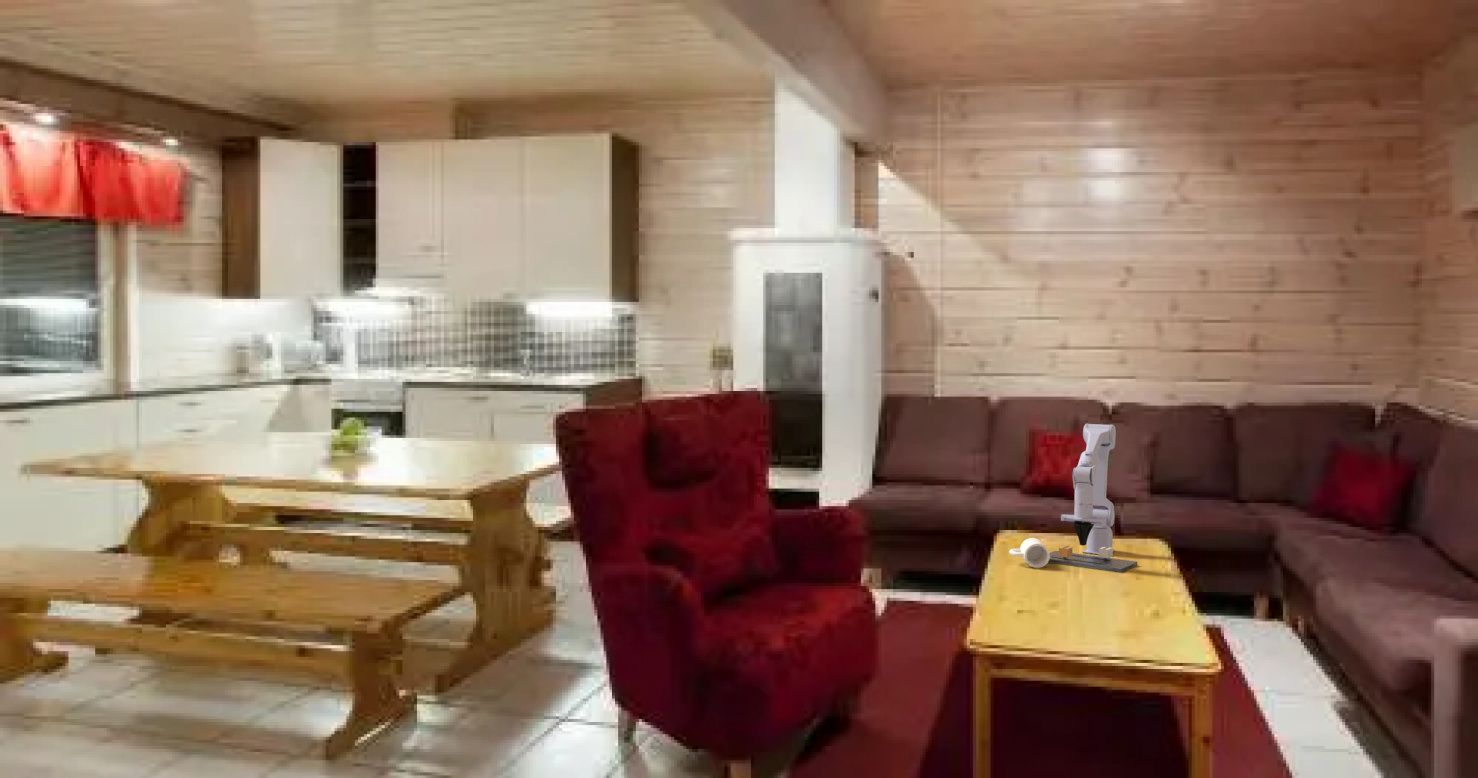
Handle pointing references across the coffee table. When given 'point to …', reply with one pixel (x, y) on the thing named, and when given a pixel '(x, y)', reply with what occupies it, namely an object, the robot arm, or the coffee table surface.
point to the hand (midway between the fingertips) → (1083, 545)
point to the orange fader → (1065, 551)
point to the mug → (1032, 552)
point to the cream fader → (1105, 552)
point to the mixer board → (1092, 562)
